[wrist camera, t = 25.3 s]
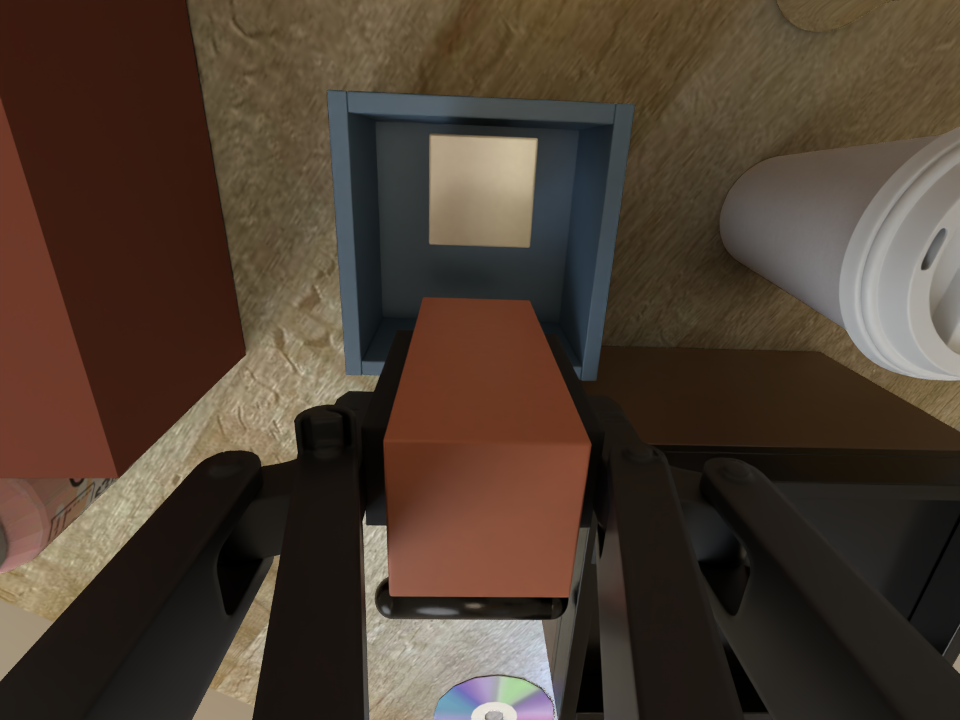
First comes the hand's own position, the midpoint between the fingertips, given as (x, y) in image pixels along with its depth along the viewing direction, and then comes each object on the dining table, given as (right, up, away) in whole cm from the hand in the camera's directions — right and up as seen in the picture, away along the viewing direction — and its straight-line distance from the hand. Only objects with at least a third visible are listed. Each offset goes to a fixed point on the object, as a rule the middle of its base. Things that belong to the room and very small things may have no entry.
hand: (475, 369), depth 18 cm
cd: (+1, -33, +29) cm, 44 cm away
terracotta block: (0, +1, +2) cm, 2 cm away
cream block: (0, +10, +11) cm, 15 cm away
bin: (0, +8, +12) cm, 15 cm away
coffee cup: (+18, +9, +13) cm, 24 cm away
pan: (+9, -5, +18) cm, 21 cm away
